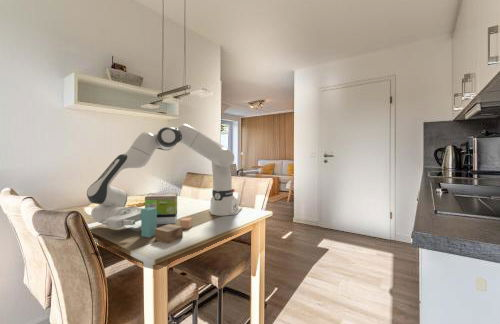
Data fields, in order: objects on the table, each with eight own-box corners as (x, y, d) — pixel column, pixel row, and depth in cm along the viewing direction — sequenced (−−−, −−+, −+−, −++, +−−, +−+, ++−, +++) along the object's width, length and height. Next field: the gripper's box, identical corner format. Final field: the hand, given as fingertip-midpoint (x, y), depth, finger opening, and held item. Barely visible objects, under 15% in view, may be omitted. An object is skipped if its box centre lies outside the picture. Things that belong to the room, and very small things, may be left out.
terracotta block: (183, 225, 123) (183, 217, 123) (192, 225, 123) (192, 217, 123) (180, 228, 119) (180, 220, 119) (189, 228, 118) (188, 220, 118)
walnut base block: (169, 234, 110) (169, 223, 110) (182, 237, 106) (182, 226, 106) (155, 240, 103) (154, 228, 103) (168, 244, 99) (168, 232, 99)
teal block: (149, 232, 112) (148, 207, 111) (157, 234, 110) (156, 208, 110) (141, 236, 108) (141, 209, 107) (149, 237, 106) (148, 210, 105)
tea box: (144, 225, 123) (144, 196, 122) (148, 219, 132) (148, 192, 132) (175, 223, 126) (175, 195, 125) (177, 218, 135) (177, 192, 135)
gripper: (99, 215, 106) (122, 219, 101) (137, 205, 125) (158, 207, 120) (99, 230, 106) (122, 234, 101) (137, 217, 125) (158, 220, 120)
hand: (142, 219), depth 110 cm, fingers open, 8 cm apart
